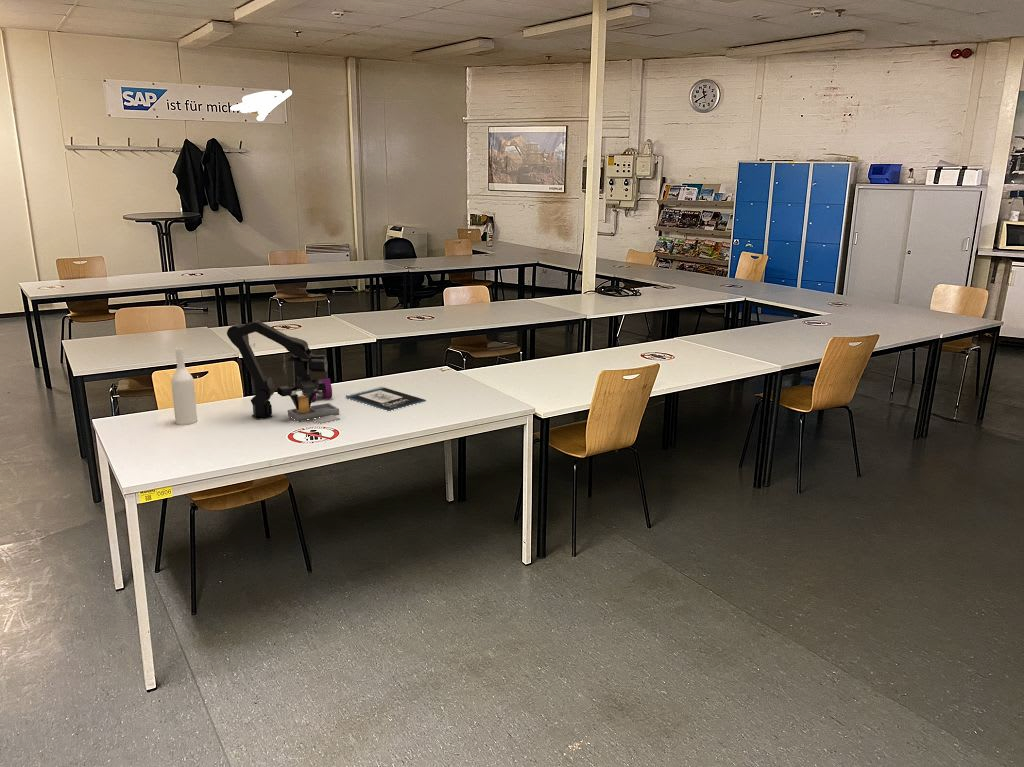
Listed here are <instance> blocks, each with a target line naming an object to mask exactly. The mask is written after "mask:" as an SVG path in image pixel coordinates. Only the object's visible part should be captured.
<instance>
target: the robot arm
mask: <svg viewBox="0 0 1024 767" xmlns="http://www.w3.org/2000/svg"><path fill="white" fill-rule="evenodd" d="M254 333H258V334H260V335H262V336H263V337H265V338H267V339H268V340H271V341H273V342H274V343H277V344H278V345H281V346H282V347H283V348H284V349H285V350H286V351H287V352H289V353H290V354H291V355H290V357H289V358H288V359H287V362H292V364H293V373H292V376H293V381H294V382H293V387H292V386H291V387H290V386H289V385H282V386H278V387H277V390H276V389H275V387H276V385H275V384H274V383H273V379H272V377H269V378H267V376H265V374H264V372H263V370H262V368H261V366H260V364H259V362H258V359H257V357H256V355H255V352H254V351H253V349H252V347H251V344H250V340H249V339H250V338H249V335H250V334H254ZM226 336H227V337H228V339H229V340H230V342H231V343H232V344H233V345H234V346H235V347H236V349H238V351H239V353H240V355H241V357H242V359H243V361H244V363H245V365H246V368H247V370H248V372H249V374H250V376H251V378H252V380H253V388H254V391H255V395H254V396H253V397H252V398H251V399H250V403H251V404H252V414H251V416H252V417H253V418H254V417H255V418H254V419H256V420H262V418H263V419H267V417H268V418H272V416H273V408H272V404H271V401H270V400H271V397H272V396H273V395H274V394H275V390H276V391H277V395H279V396H281V397H290V399H291V400H292V402H293V405H294V407H295V409H297V410H298V409H299V406H298V396H299V394H297V392H301V393H303V394H304V395H306V394H307V395H306V396H308V400H309V408H310V406H312V405H311V404H312V402H313V401H312V399H313V397H314V395H315V394H316V395H317V394H319V392H322V390H326V384H325V383H324V382H322V381H318V380H319V379H311V375H310V374H309V371H311V373H327V372H328V366H329V365H328V360H327V358H326V355H325V354H318V355H316V354H314V353H313V351H312V350H311V349H310V348H309V344H308V342H307V341H306V340H304V339H302V338H301V339H300V338H298V337H295V336H294V337H293V336H290V335H287V334H285V333H283V332H281V331H279V330H278V329H276V328H274V327H271V325H268V324H266V323H265V322H263V321H262V320H259V319H258V320H257V319H256V320H255V321H253V322H252V321H250V322H247V323H244V324H242V323H239V322H238V323H235V324H233V325H232V326H229V327H228V329H227V331H226ZM317 389H318V390H319V391H317Z"/></svg>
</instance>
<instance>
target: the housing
mask: <svg viewBox="0 0 1024 767" xmlns="http://www.w3.org/2000/svg"><path fill="white" fill-rule="evenodd" d="M338 414H339V415H340V408H339V407H337V406H336V405H333V404H332V403H329V402H327V403H321V404H315V405H310V412H307V413H298V412H297V409H296V408H292V409H291V408H290V409H287V416H288V415H289V416H290V417H289V416H288V417H289V418H291V417H292V418H293V419H292V418H291V419H292V420H294V419H295V420H296V421H295V420H294V421H295V422H297V421H300V422H302V421H301V420H306V421H308V420H307V419H311V420H313V419H312V418H319V417H325V416H329V415H334V416H337V415H338ZM339 415H338V416H339Z"/></svg>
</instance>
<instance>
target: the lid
mask: <svg viewBox="0 0 1024 767" xmlns="http://www.w3.org/2000/svg"><path fill="white" fill-rule="evenodd" d="M313 420H314V421H316V422H318V423H317V424H319V423H320V424H319V425H322V424H321V423H324V424H327V423H326V422H328V423H332V422H335V420H336V421H340V420H341V418H340V417H338V416H337V415H329V416H325V417H320V418H316V419H312V421H313ZM314 421H313V422H314ZM331 421H332V422H331ZM316 422H315V423H316Z"/></svg>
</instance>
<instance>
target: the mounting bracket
mask: <svg viewBox="0 0 1024 767" xmlns="http://www.w3.org/2000/svg"><path fill="white" fill-rule="evenodd" d="M317 380H318V381H322V382H324V383H325V384H326V390H322V391H321V393H322V397H323V399H324V398H325V399H324V400H329V399H330V400H331V399H332V397H333V388H332V382H331V378H322V379H321V378H320V379H317ZM317 391H318V392H320V391H319V390H318V389H317ZM305 396H307V394H305ZM314 400H315V401H317V393H316V394H315V395H314V397H313V399H312V402H315V401H314Z"/></svg>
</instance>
